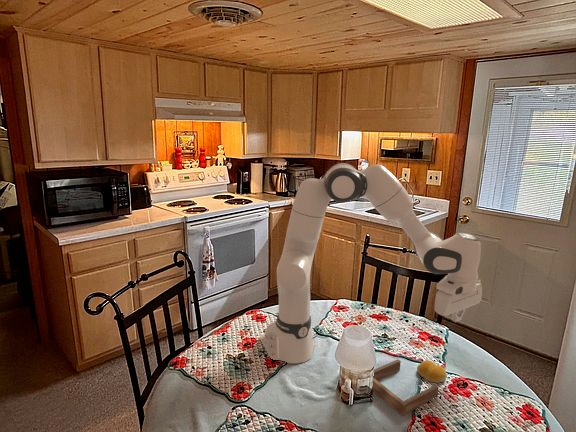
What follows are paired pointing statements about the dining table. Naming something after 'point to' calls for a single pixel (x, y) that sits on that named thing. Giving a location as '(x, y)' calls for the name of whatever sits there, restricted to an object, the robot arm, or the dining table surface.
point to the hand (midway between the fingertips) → (456, 320)
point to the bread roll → (432, 371)
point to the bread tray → (391, 398)
